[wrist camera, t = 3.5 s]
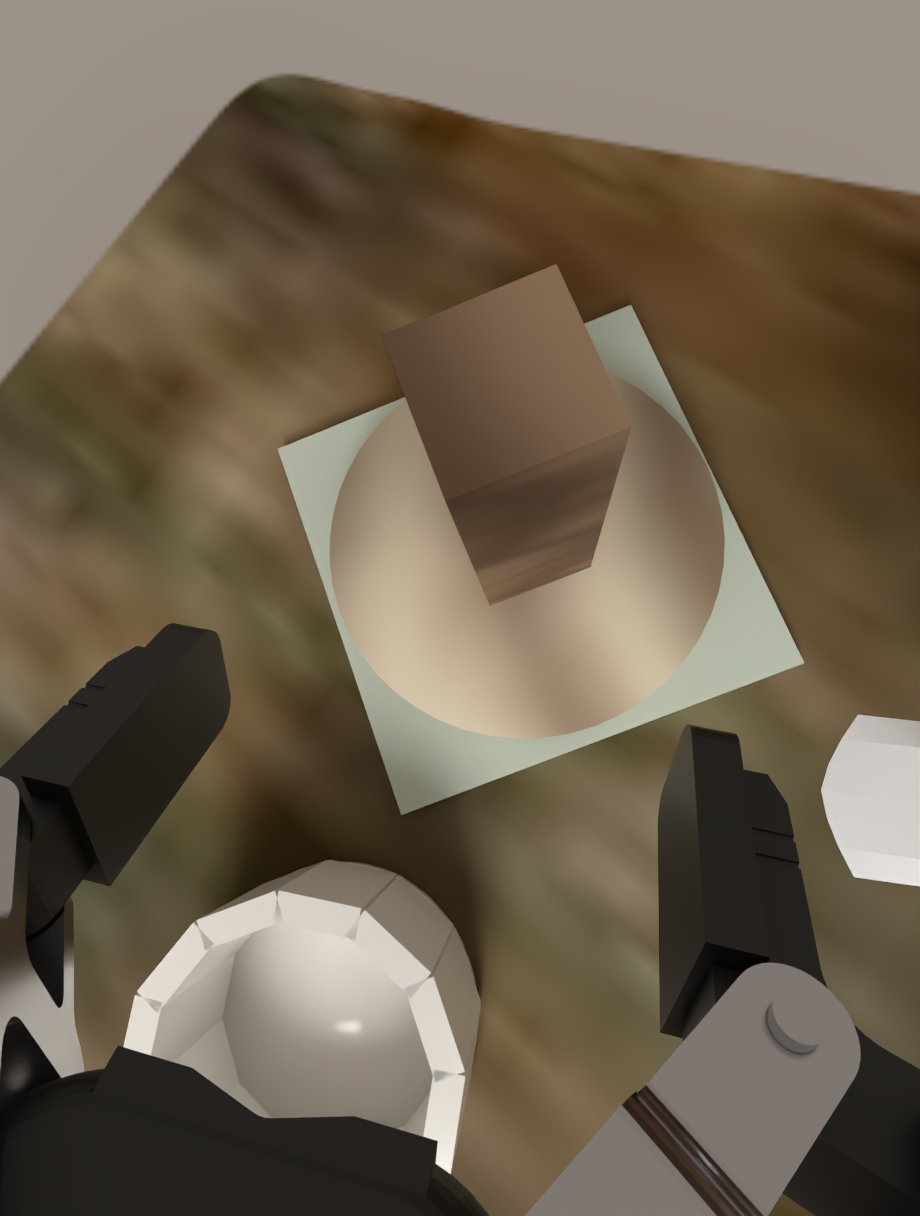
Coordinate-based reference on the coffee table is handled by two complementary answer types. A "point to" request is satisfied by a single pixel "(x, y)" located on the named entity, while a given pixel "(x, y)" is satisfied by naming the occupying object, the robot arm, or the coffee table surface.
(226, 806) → the coffee table surface
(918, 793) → the heart sculpture
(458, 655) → the lid
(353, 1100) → the bowl
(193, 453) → the coffee table surface
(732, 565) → the mat
